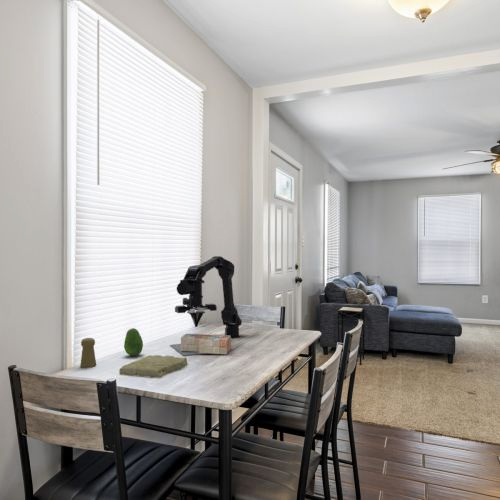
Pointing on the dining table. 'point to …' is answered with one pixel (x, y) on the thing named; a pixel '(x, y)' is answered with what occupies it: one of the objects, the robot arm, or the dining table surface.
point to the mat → (184, 353)
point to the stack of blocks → (206, 343)
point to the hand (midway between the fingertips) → (196, 326)
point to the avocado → (133, 342)
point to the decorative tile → (153, 366)
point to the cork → (88, 353)
